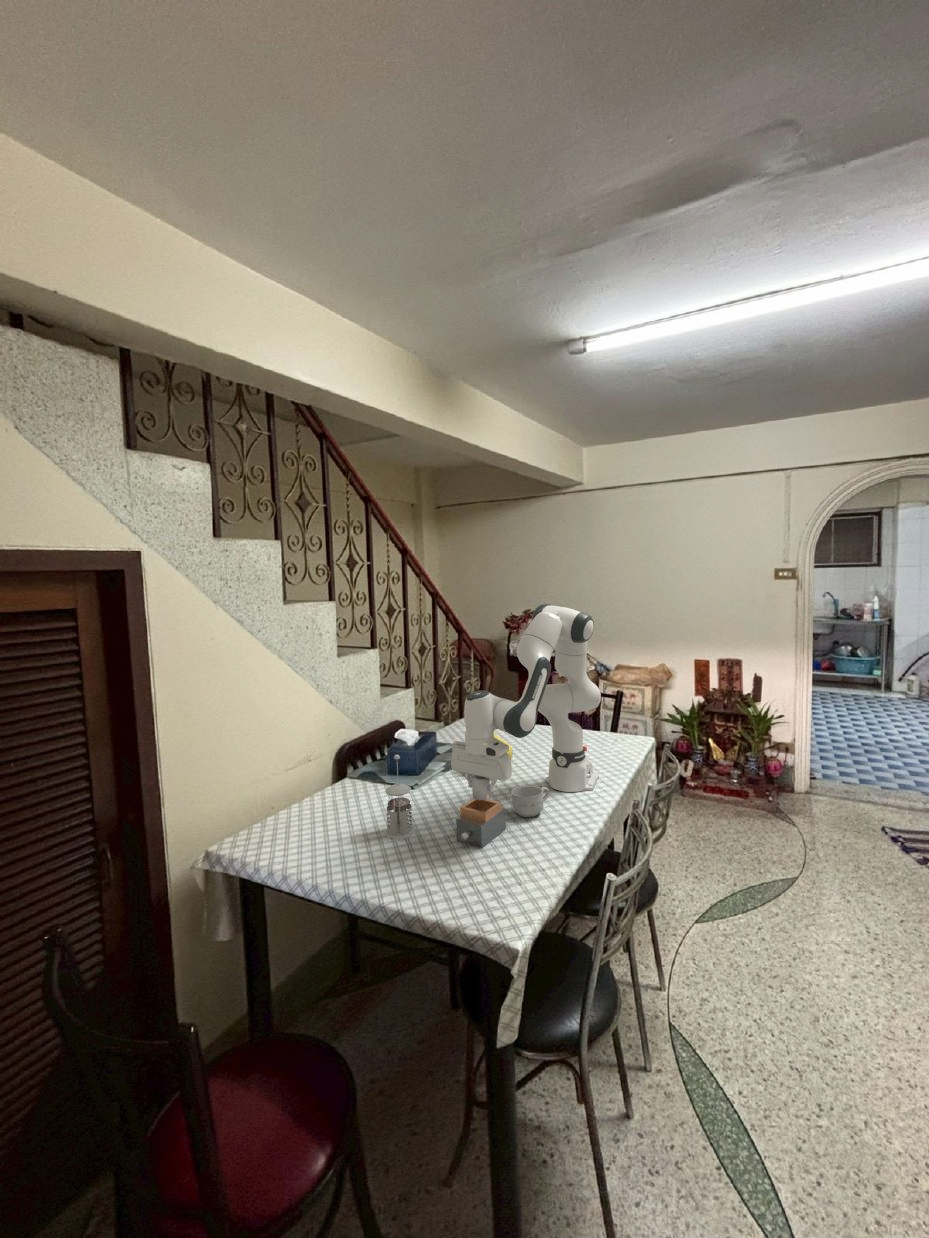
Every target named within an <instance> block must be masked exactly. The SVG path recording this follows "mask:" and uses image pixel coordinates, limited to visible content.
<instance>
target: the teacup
mask: <svg viewBox="0 0 929 1238" xmlns="http://www.w3.org/2000/svg"><path fill="white" fill-rule="evenodd" d="M544 791H545V794H544ZM510 793H511V804H512V809H513V810H514V811H513V812H515V813H516V814H518V815H519V816H520V817H523V818H532V817H533V818H534V817H536V816H538V815H539V814H540V813H541V812H542V811H543V809H544V802H545V801H546V800H547V799H548V798H549V797H550V789H549V788H548V787H546V786H542V787H540V786H535V785H521V786H517V787H514V788H512V790H510Z"/></svg>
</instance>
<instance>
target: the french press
mask: <svg viewBox="0 0 929 1238" xmlns="http://www.w3.org/2000/svg"><path fill="white" fill-rule="evenodd" d="M393 759H394V760H399V759H401V756H400V754H395V755H394V756H393ZM398 763H399V762H398V761H396V771H397V772H396V774H397V775H396V776H397V777H396V778H397V779H399V768H398V767H399V766H398ZM410 791H412V787H411V786H409V785H407V784H405V783H395V784H391V785H390V786H388V787H387V788H386V789H385V794H386V795H388V796H392V797H395V798H392V799H390V800H388V801H387V806H386V818H387V819H386V820H387V822H386V823H387V826H386V827H387V828H386V830H385V831H384V836H385V837H386V838H389V839H392V840H403V839H407V838H410V837H412V836H414V835H415V833H416V828H415V827H414V826H413V815H412V814H413V812H412V809H413V808H412V804H411V799H409V798H407V797H401V796H405V795H406V794H409V793H410Z"/></svg>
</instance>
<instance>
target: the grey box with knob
mask: <svg viewBox="0 0 929 1238" xmlns="http://www.w3.org/2000/svg"><path fill="white" fill-rule="evenodd" d="M459 811H460V813H459V814H460V815H459V816H458V817H456V818H455V819H456V820H455V823H456V825H455V827H456V841H457V842H459V843H462V844H466V845H469V846H472V847H475V848H478V849H483V848H485V847H486V846H487V845H489V844H490V843H491V842H492V841H493V840H494V839H496V838H497V837H498V836H500V835H501V834H502V833H503V832H505V830H506V829H507V827H506V826H507V824H506V821H507V820H506V807H502V802H499V801H494V800H490V799H486V800H476V799H474V798H472V799H471V800H470V801H468V802H467V803H465V804H464V805H463V804H462V806H460V807H459Z"/></svg>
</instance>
